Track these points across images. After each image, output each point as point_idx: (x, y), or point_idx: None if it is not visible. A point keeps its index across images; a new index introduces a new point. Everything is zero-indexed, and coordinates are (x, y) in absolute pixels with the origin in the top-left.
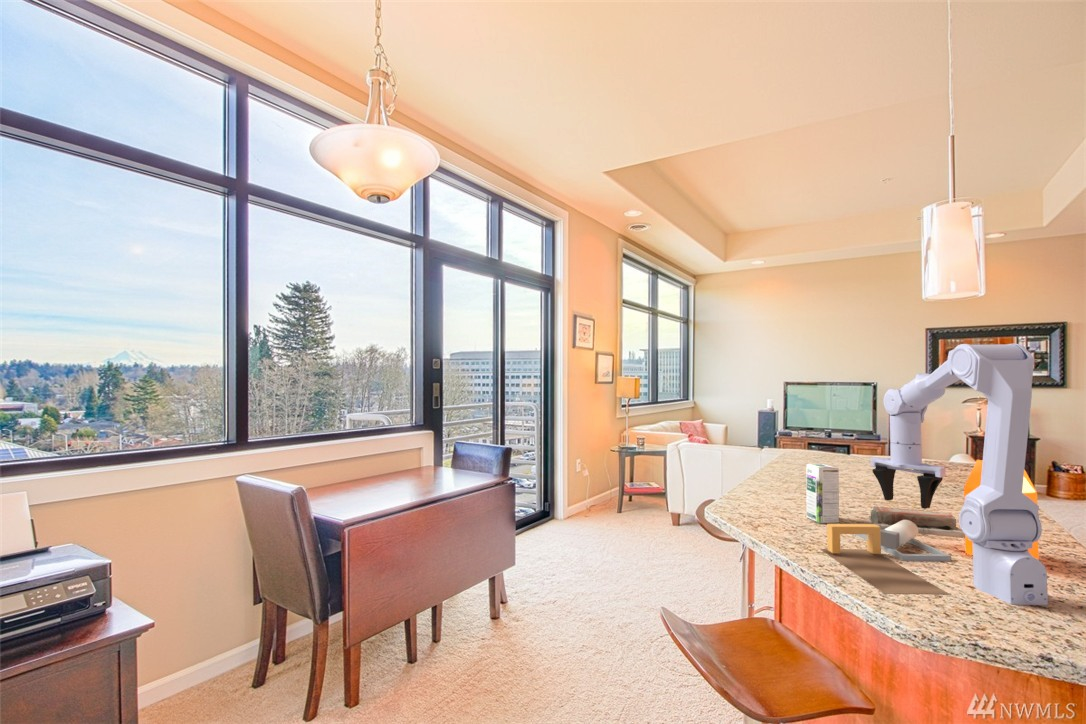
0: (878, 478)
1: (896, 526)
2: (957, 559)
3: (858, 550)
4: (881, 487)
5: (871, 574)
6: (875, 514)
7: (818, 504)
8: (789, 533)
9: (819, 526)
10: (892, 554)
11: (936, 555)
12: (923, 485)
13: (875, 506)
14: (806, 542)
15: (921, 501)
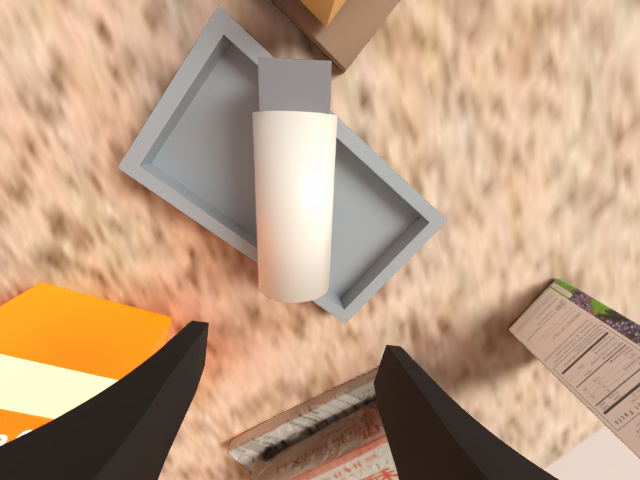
0: (507, 453)
1: (290, 169)
2: (159, 248)
3: (378, 3)
4: (447, 396)
5: None
6: None
7: (621, 315)
8: (631, 80)
9: (550, 251)
10: None
11: (146, 128)
12: (77, 432)
13: None
14: (561, 10)
15: (189, 342)
